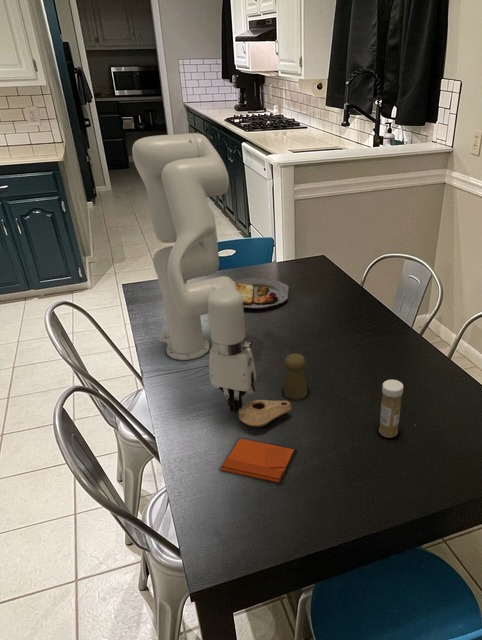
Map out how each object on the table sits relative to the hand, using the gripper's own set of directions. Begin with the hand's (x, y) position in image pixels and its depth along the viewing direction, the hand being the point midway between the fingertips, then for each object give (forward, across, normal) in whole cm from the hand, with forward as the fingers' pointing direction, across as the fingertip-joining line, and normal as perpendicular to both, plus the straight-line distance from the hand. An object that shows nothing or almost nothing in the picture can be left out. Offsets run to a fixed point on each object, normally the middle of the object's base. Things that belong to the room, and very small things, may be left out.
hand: (235, 409), depth 121 cm
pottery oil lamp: (+2, -8, 0) cm, 8 cm away
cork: (+2, -11, -13) cm, 17 cm away
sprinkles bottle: (+2, -36, -5) cm, 37 cm away
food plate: (+2, +22, -65) cm, 68 cm away
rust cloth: (+2, -11, +13) cm, 17 cm away
